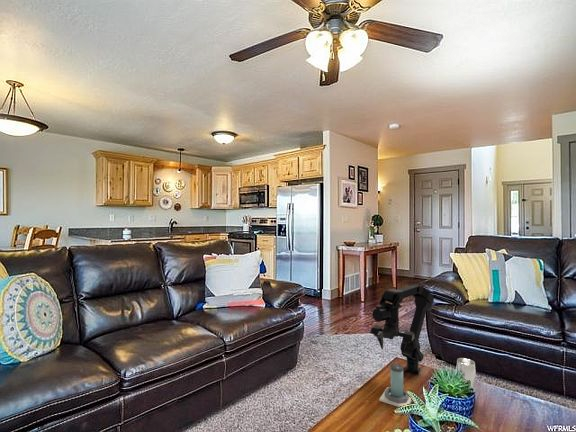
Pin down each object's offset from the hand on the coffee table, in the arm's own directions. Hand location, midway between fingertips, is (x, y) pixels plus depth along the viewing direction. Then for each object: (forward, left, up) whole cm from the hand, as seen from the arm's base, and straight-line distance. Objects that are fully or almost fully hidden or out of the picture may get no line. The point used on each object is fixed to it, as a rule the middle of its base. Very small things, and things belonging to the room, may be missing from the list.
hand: (392, 351), depth 151 cm
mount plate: (+15, +6, -13) cm, 21 cm away
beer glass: (-2, +30, -13) cm, 33 cm away
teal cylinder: (+15, +6, -12) cm, 20 cm away
